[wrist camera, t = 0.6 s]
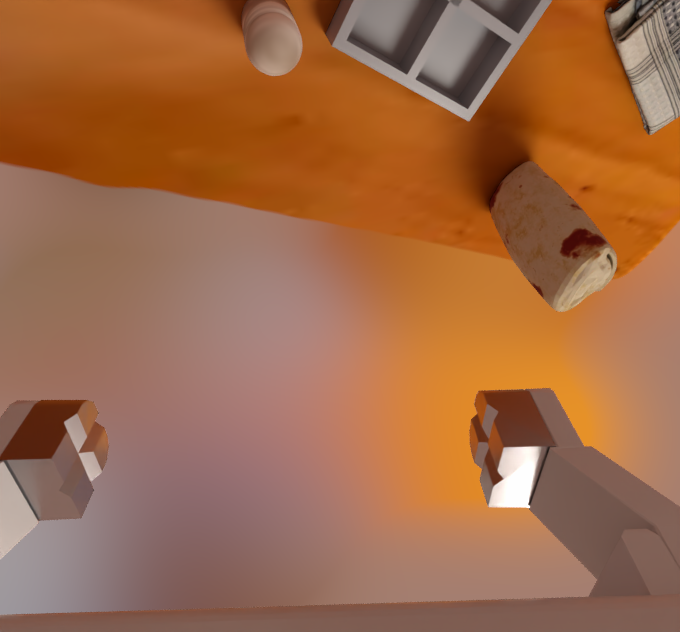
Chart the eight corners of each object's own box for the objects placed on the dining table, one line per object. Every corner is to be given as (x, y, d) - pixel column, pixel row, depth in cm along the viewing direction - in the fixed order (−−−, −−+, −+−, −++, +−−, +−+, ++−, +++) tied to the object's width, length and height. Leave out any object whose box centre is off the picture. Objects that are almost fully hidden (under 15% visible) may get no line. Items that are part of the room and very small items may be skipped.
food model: (509, 149, 62) (597, 244, 48) (551, 162, 64) (646, 256, 50) (469, 215, 68) (537, 318, 54) (509, 225, 70) (584, 325, 56)
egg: (253, -20, 45) (260, 8, 39) (300, 8, 47) (315, 38, 41) (233, 34, 48) (237, 68, 41) (279, 57, 50) (290, 93, 43)
